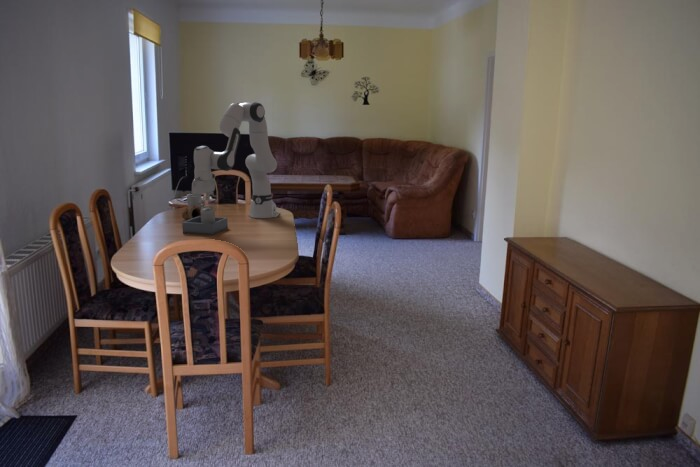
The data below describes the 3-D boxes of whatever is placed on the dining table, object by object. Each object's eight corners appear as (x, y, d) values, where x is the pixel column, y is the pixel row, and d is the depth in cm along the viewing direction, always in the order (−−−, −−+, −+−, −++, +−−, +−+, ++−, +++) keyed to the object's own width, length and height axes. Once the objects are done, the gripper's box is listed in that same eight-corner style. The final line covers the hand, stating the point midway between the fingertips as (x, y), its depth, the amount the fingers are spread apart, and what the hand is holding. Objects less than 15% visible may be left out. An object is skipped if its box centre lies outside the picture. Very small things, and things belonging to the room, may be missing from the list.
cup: (201, 211, 367) (200, 193, 364) (206, 213, 360) (205, 195, 357) (185, 213, 361) (184, 194, 358) (190, 215, 354) (189, 196, 351)
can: (201, 230, 306) (199, 210, 301) (202, 225, 313) (200, 205, 308) (215, 230, 308) (214, 210, 303) (215, 224, 314) (214, 205, 309)
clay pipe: (177, 229, 331) (198, 223, 326) (171, 212, 329) (192, 206, 324) (194, 222, 348) (214, 216, 344) (188, 206, 347) (208, 200, 342)
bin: (199, 226, 322) (198, 216, 321) (227, 228, 318) (227, 217, 317) (182, 233, 305) (182, 222, 304) (213, 235, 301) (212, 224, 300)
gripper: (198, 178, 294) (200, 204, 297) (216, 174, 314) (217, 198, 317) (188, 178, 296) (189, 203, 299) (206, 173, 315) (207, 198, 318)
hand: (204, 201), depth 308 cm, fingers open, 7 cm apart
